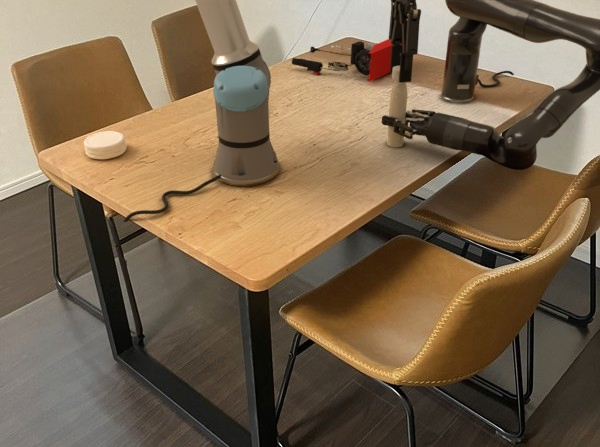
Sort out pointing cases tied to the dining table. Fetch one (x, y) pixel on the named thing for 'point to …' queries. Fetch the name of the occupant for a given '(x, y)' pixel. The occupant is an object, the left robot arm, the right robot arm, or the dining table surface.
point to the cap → (396, 72)
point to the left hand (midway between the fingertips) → (400, 76)
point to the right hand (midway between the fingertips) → (387, 116)
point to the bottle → (397, 111)
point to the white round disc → (105, 145)
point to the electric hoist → (357, 59)
